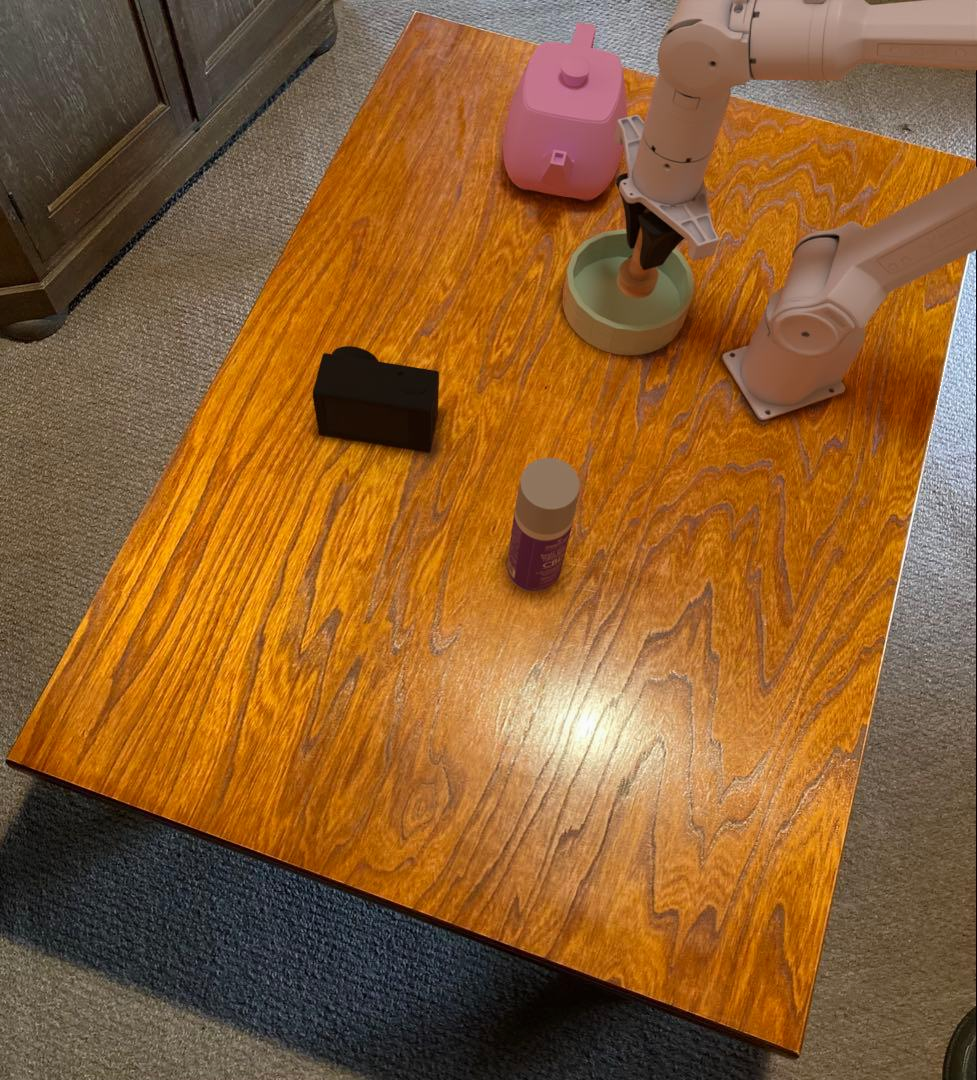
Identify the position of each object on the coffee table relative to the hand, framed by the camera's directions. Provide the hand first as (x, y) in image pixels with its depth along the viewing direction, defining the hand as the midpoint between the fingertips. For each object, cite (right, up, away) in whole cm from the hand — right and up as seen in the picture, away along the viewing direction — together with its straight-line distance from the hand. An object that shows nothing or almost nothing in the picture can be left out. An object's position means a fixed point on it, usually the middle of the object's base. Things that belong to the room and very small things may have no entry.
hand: (645, 253), depth 96 cm
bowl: (-1, -2, +10) cm, 11 cm away
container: (-10, -28, -3) cm, 30 cm away
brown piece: (0, -2, +3) cm, 4 cm away
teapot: (-6, +14, +18) cm, 24 cm away
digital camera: (-24, -15, +3) cm, 28 cm away
